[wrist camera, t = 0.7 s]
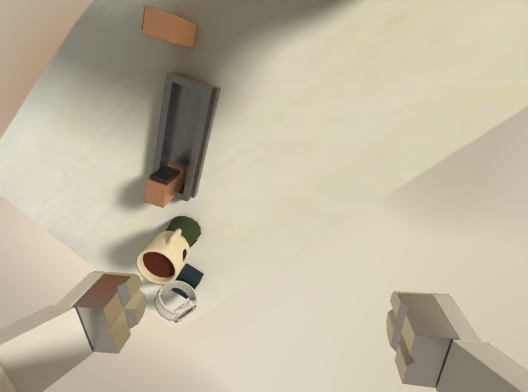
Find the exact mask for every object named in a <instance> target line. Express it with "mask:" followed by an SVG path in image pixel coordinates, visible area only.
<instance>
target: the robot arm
mask: <svg viewBox="0 0 528 392" xmlns="http://www.w3.org/2000/svg"><path fill="white" fill-rule="evenodd" d="M141 284H142V283H141V280H140V277H139V276H138V275H136V274H127V273H116V272H102V271H94V272H91V273H89V274H88V275H87V276H86V277H85V278H84V279H83V280H82V281H81V282H80V283H79V284H78V285H77V286H76V287H75V288H74V289H72V290H71V291H70V292H69V293H68V294H67V295H66V296H65V297H64V298H63V299H62V300H61V301H60V302H59V303H57V304H56V305H55V306H48V307H47V308H44V309H42V310H40V311H38V312H36V313H34V314H32V315H30V316H27V317H25V318H23V319H21V320H19V321H17V322H15V323H13V324H11V325H9V326H7V327H4V328H2V329H0V392H43V391H44V390H45V389H47V388H48V387H49V386H51V385H52V384H53V383H55V382H56V381H57V380H59V379H60V378H61V377H62V376H64V375H65V374H66V373H68V372H69V371H70V370H71V369H72V368H74V367H75V366H77V365H78V364H79V363H81V362H82V361H83V360H85V359H86V358H87V357H88V356H90V355H91V354H92V353H93V352H105V353H119V352H120V350H121V349H122V347H123V346H124V344H125V343H126V341H127V340H128V338H129V337H130V335H131V333H130V328H132V327H134V326H135V325H137V324H138V323H139V321H140V320H141V318H142V317H143V314H144V311H145V307H146V299H145V295H144V294H143V293H142V292H141V291H140V290H139V287H140V286H141ZM390 302H391V305H392V308H393V309H392V310H391V311H389V312H388V316H387V334H388V339H389V342H390V345H391V347H392V348H393V349H394V350H395V351H396V352H397V354H396V359H395V362H396V365H397V368H398V371H399V374H400V377H401V380H402V383H403V384H410V385H417V386H418V385H419V386H426V387H432V388H436V390H437V391H438V392H528V370H527V369H526V368H524V367H523V366H521V365H520V364H518V363H517V362H516V361H514V360H513V359H511V358H510V357H508V356H507V355H506V354H504V353H503V352H501V351H500V350H498V349H497V348H495V347H494V346H493V345H491V344H489V343H486V342H482V341H481V339H480V338H479V337H478V335H477V334H476V332H475V331H474V329H473V327H472V326H471V324H470V323H469V322H468V320H467V319H466V317H465V316H464V314H463V313H462V311H461V309H460V308H459V306H458V305H457V304H456V302H455V300H454V299H453V297H452V296H450V295H449V294H436V293H429V294H428V293H413V292H396V291H394V292H393V293H392V295H391V300H390Z"/></svg>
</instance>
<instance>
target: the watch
mask: <svg viewBox="0 0 528 392" xmlns="http://www.w3.org/2000/svg"><path fill="white" fill-rule="evenodd" d="M203 275H204V274H203V273H202V272H200V271H198V270H197V269H195V268H194V267H192V266H190V265H189V264H186V265H185V267H184V268H183V270H182V271H181V272H180V274H179V275H178V276H177V278H176V279H175V280H174V281H173V282H172V283H169V284H166V285H163V286H162V287H161V288H160V289H159V291H158V292H157V295H156V296H155V300H154V302H155V308H156V310H157V311H158V313H159V314H160V315H161V316H162V317H163V318H165V319H167V320H168V321H174V322H175V323H176V322H179V321H181V320H182V319H184V318H185V317H187V316H188V315H189V314H190V313H191V312H192V311H193V310H194V309H195V308H196V306H197V305H196V303H197V295H196V292H195V290H194V289H195V288H196V287H197V286H198V284H199V283H200V281H201V279H202V277H203ZM168 290H173V291H174V292H176V293H178V294H179V295H181V296H183V297H184V298H186V299H187V298H188V297H189V299H190V301H188V302H186V303H184V304H183V305H181V306H180V307H179V308H177V309H175V310H174V311H172V310H171V311H170V309H168V308H166V306H165V305H163V302H162V301H161V297H160V295H161V294H162V293H164V292H166V291H168ZM162 310H163V311H162Z"/></svg>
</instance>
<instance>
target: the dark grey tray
mask: <svg viewBox="0 0 528 392" xmlns="http://www.w3.org/2000/svg"><path fill="white" fill-rule="evenodd" d="M219 92H220V88H219V87H216V86H213V85H210V84H207V83H204V82H201V81H198V80H195V79H192V78H189V77H186V76H183V75H180V74H177V73H174V72H169V73H167V76H166V83H165V90H164V97H163V104H162V111H161V118H160V125H159V132H158V139H157V146H156V153H155V160H154V167H153V174H151V175H150V177H149V178H148V179H147V183H146V190H145V197H144V202H147V203H150V204H153V205H156V206H159V207H162V208H163V207H164V206H165V205H167V204H168V203H169V202H170V201H171V200H172V199H173V198H174V197H176V198H179V199H182V200H185V201H188V200H189V199H190V198H191V197H193V198H194V197H195V196H196V195H197V191H198V187H199V182H200V178H201V173H202V169H203V164H204V160H205V155H206V151H207V146H208V142H209V137H210V133H211V128H212V124H213V119H214V115H215V110H216V106H217V101H218V97H219Z"/></svg>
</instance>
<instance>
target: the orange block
mask: <svg viewBox="0 0 528 392" xmlns="http://www.w3.org/2000/svg"><path fill="white" fill-rule="evenodd" d="M196 30H197V25H196V24H194V23H192V22H190V21H187V20H185V19H183V18H181V17H179V16H176V15H174V14H171V13H168V12H165V11H162V10H159V9H156V8H153V7H150V6H147V5H145V7H144V17H143V26H142V33H144V34H147V35H150V36H153V37H156V38H159V39H162V40H164V41H167V42H170V43H174V44H179V45H183V46H187V47H192V48H193V47H194V41H195V36H196Z"/></svg>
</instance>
